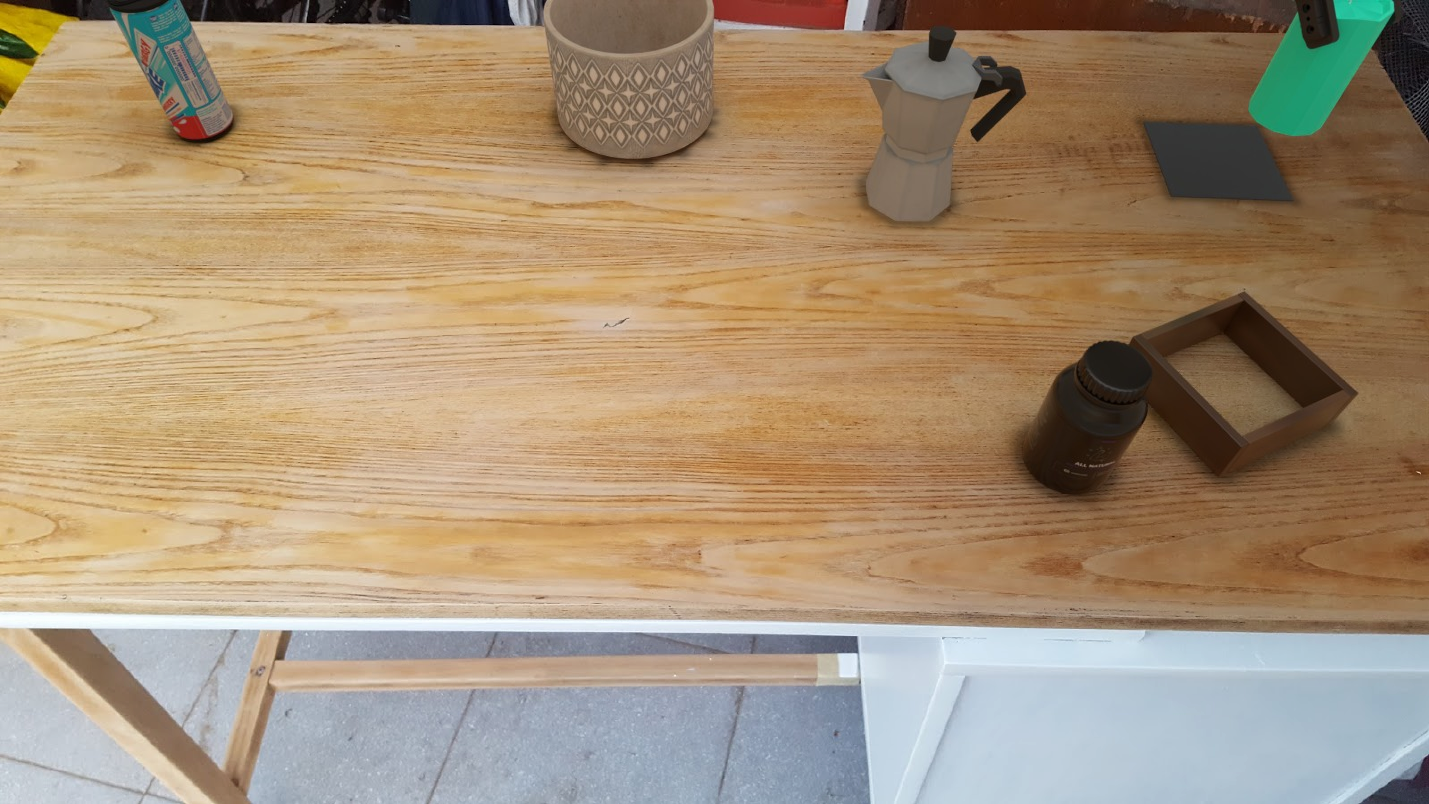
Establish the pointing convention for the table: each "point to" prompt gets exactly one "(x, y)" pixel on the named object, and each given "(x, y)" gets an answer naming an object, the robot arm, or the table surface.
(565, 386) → the table surface
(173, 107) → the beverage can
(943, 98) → the coffee maker
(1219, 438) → the brown wooden tray
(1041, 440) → the supplement bottle
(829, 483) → the table surface
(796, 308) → the table surface
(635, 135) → the planter
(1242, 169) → the mat
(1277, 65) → the candle
